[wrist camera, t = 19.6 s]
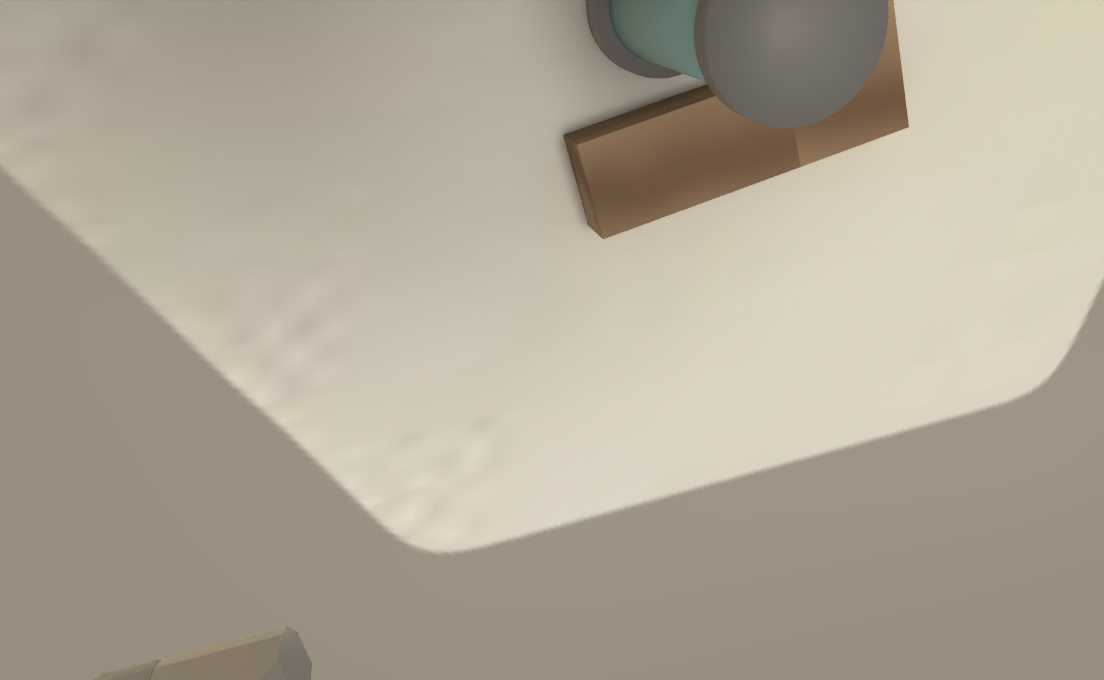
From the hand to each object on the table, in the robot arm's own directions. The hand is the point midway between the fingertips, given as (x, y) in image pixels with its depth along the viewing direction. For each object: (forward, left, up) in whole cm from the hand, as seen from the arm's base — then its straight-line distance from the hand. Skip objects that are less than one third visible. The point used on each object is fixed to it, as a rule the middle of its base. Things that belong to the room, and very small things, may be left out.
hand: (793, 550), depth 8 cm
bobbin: (+1, +11, -33) cm, 34 cm away
